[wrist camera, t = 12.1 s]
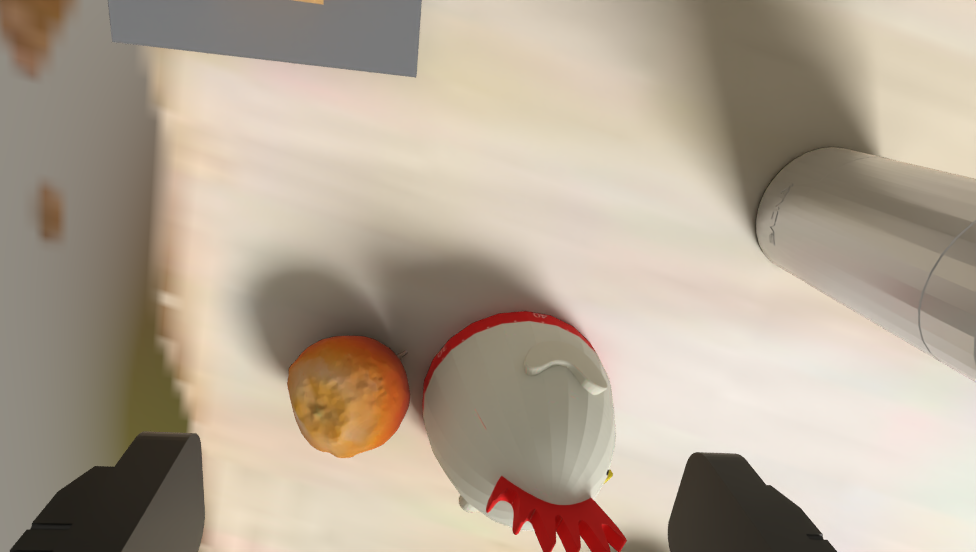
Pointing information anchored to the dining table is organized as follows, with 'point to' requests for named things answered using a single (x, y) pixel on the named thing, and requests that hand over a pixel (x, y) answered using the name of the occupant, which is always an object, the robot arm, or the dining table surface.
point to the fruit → (348, 394)
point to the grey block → (279, 30)
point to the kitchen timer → (525, 427)
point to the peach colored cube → (312, 1)
